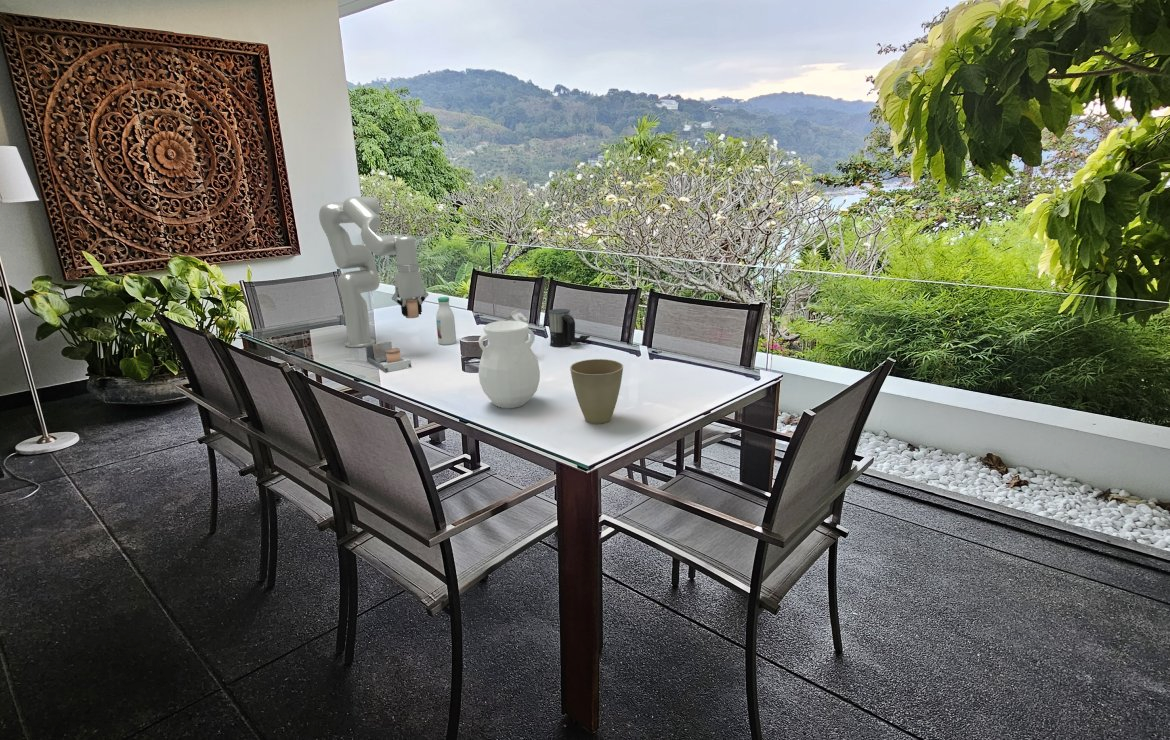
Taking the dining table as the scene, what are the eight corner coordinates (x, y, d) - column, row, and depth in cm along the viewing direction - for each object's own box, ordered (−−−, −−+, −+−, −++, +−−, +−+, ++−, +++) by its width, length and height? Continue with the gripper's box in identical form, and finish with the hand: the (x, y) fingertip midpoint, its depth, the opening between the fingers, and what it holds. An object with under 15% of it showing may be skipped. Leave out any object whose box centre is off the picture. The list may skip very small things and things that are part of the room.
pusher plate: (368, 358, 245) (366, 341, 243) (386, 355, 249) (384, 338, 247) (375, 362, 239) (373, 344, 237) (393, 359, 243) (391, 341, 241)
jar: (403, 316, 244) (401, 299, 242) (416, 315, 247) (414, 297, 245) (408, 319, 240) (406, 301, 238) (421, 317, 243) (419, 299, 241)
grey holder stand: (367, 361, 242) (365, 346, 240) (392, 356, 248) (390, 342, 246) (385, 372, 227) (383, 356, 225) (411, 367, 233) (409, 352, 231)
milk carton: (505, 359, 240) (502, 311, 234) (513, 355, 246) (511, 308, 241) (521, 361, 237) (518, 312, 232) (529, 356, 243) (527, 309, 238)
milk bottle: (458, 340, 271) (454, 295, 266) (453, 345, 264) (449, 299, 258) (441, 340, 272) (437, 296, 266) (435, 345, 265) (431, 299, 259)
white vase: (489, 418, 180) (483, 334, 172) (474, 399, 196) (468, 322, 189) (549, 408, 187) (546, 327, 179) (530, 390, 203) (526, 316, 196)
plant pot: (580, 408, 186) (579, 357, 181) (628, 412, 181) (628, 360, 177) (564, 426, 172) (562, 372, 167) (616, 431, 168) (615, 375, 163)
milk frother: (545, 345, 260) (543, 311, 256) (567, 338, 272) (566, 304, 268) (572, 350, 252) (571, 314, 248) (594, 341, 264) (593, 307, 260)
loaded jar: (385, 367, 233) (383, 349, 231) (399, 365, 236) (397, 347, 234) (390, 370, 229) (388, 352, 227) (404, 367, 232) (402, 350, 230)
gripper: (424, 265, 246) (428, 310, 251) (382, 269, 236) (387, 316, 241) (432, 267, 240) (436, 313, 245) (389, 271, 230) (394, 319, 235)
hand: (412, 314), depth 243 cm, fingers closed on jar, 5 cm apart
